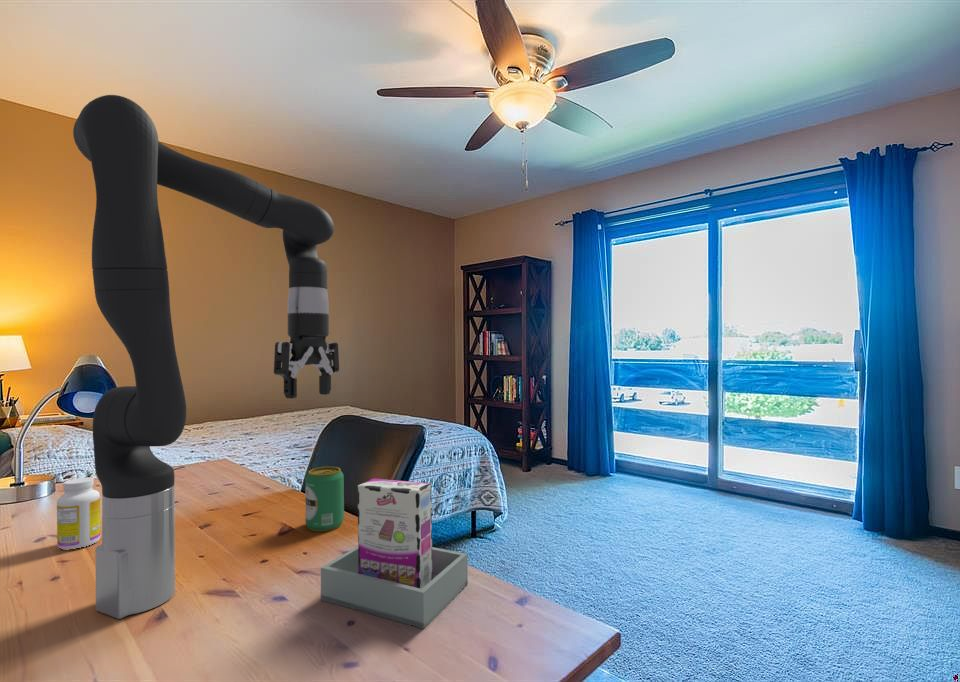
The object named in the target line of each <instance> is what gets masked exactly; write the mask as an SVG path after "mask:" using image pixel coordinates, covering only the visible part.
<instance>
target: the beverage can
mask: <svg viewBox="0 0 960 682" xmlns="http://www.w3.org/2000/svg"><path fill="white" fill-rule="evenodd" d="M344 475H345V474H344V473H343V472H342V470H341V468H340V467H338V466H321V467H319V466H318V467H315V468H312V469H310V470H308V471H307V475H306V476H305V480H304V481H305V483H304V484H305V486H304V487H305V525H306V526H307V529H308V530H310V531H312V532H328V531H333V530H335V529H338V528H340V527H341V526H342V525H341V524H343V522H344V520H345V497H344V496H345V493H344V492H345V490H344V489H345V487H344V486H345V485H344V484H345V483H344V478H345V477H344ZM339 526H340V527H339Z"/></svg>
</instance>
